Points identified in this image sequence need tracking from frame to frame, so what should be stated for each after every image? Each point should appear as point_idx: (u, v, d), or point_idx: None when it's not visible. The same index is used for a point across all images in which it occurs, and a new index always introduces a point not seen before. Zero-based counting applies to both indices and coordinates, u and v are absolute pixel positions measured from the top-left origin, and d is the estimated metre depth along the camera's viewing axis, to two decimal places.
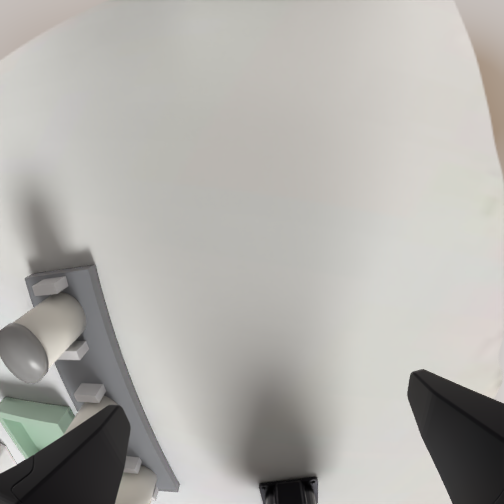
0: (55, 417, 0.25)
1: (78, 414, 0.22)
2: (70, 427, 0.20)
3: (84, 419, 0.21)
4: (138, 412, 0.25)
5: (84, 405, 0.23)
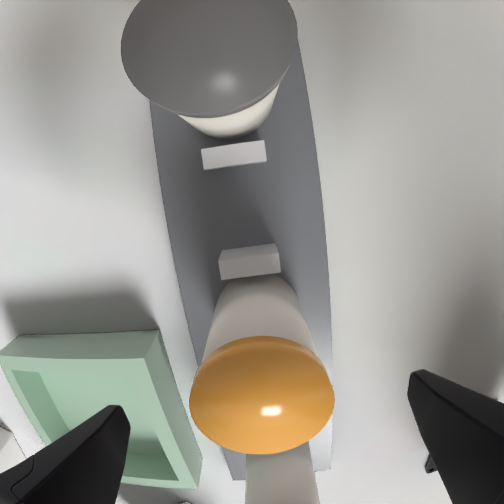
0: (134, 348, 0.15)
1: (233, 302, 0.12)
2: (231, 323, 0.10)
3: (261, 303, 0.11)
4: (329, 304, 0.15)
5: (236, 289, 0.13)
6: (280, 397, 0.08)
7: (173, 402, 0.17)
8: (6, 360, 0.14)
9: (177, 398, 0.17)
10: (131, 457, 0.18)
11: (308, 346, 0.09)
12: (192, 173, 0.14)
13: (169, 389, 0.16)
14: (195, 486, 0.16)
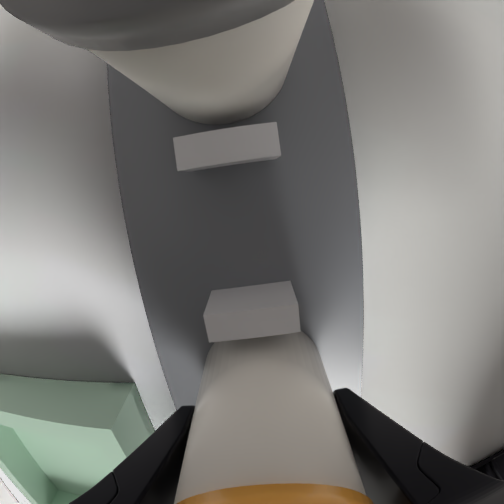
0: (100, 411, 0.10)
1: (227, 383, 0.07)
2: (223, 436, 0.05)
3: (272, 393, 0.06)
4: (361, 358, 0.11)
5: (232, 354, 0.08)
6: None
7: None
8: None
9: None
10: None
11: (350, 475, 0.05)
12: (165, 176, 0.09)
13: None
14: None
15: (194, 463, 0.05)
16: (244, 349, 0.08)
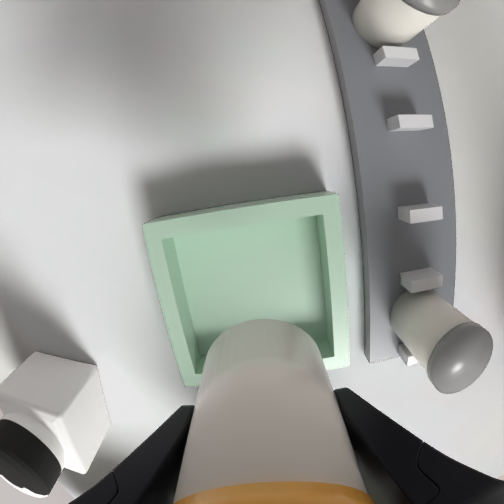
0: (320, 194, 0.18)
1: (227, 381, 0.07)
2: (223, 434, 0.05)
3: (273, 391, 0.06)
4: (451, 167, 0.18)
5: (232, 352, 0.08)
6: None
7: None
8: (158, 227, 0.17)
9: None
10: None
11: (351, 473, 0.05)
12: (364, 66, 0.17)
13: None
14: (348, 362, 0.19)
15: (194, 461, 0.05)
16: (244, 347, 0.08)
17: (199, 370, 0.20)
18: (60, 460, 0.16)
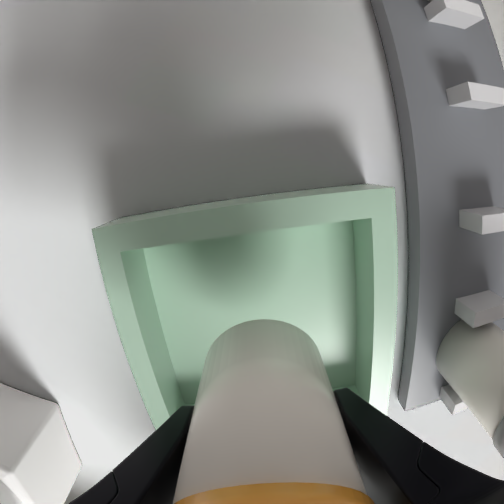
0: (364, 187, 0.11)
1: (226, 382, 0.07)
2: (222, 435, 0.05)
3: (272, 391, 0.06)
4: None
5: (232, 353, 0.08)
6: None
7: None
8: (115, 234, 0.11)
9: None
10: None
11: (350, 474, 0.05)
12: (414, 19, 0.10)
13: None
14: None
15: (193, 462, 0.05)
16: (244, 347, 0.08)
17: None
18: None
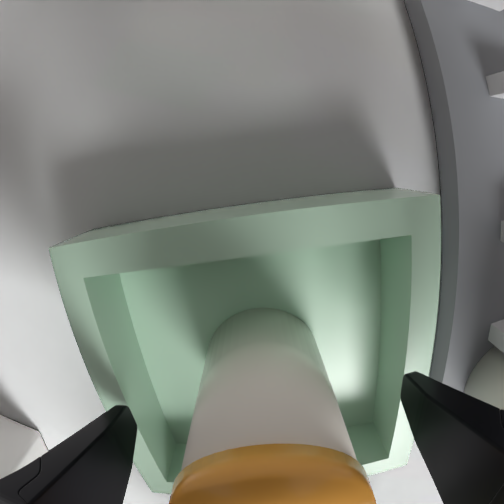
0: (399, 193, 0.08)
1: (229, 362, 0.08)
2: (226, 406, 0.06)
3: (271, 369, 0.07)
4: None
5: (234, 337, 0.09)
6: None
7: None
8: (75, 255, 0.08)
9: None
10: None
11: (342, 442, 0.05)
12: None
13: None
14: (405, 461, 0.10)
15: (200, 432, 0.06)
16: (245, 332, 0.09)
17: (173, 475, 0.11)
18: None
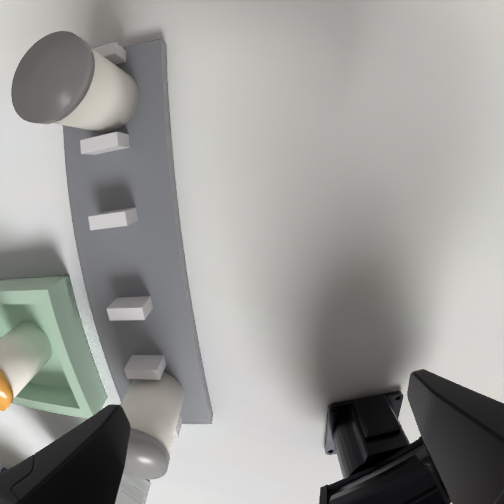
0: (45, 285, 0.18)
1: None
2: None
3: (3, 340, 0.17)
4: (180, 258, 0.19)
5: (10, 330, 0.19)
6: None
7: (75, 335, 0.20)
8: None
9: (80, 334, 0.21)
10: (52, 389, 0.22)
11: (2, 364, 0.15)
12: (84, 157, 0.17)
13: (72, 323, 0.20)
14: None
15: None
16: (12, 329, 0.19)
17: None
18: None
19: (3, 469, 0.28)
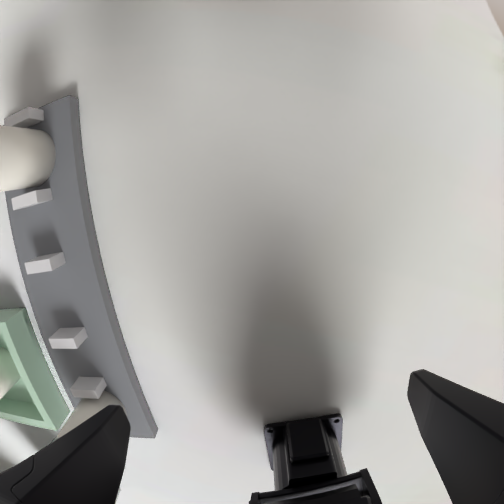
0: (5, 317, 0.19)
1: None
2: None
3: None
4: (102, 295, 0.20)
5: None
6: None
7: (34, 358, 0.21)
8: None
9: (40, 357, 0.22)
10: (25, 404, 0.23)
11: None
12: (21, 209, 0.18)
13: (30, 348, 0.21)
14: (55, 428, 0.21)
15: None
16: None
17: None
18: None
19: None
